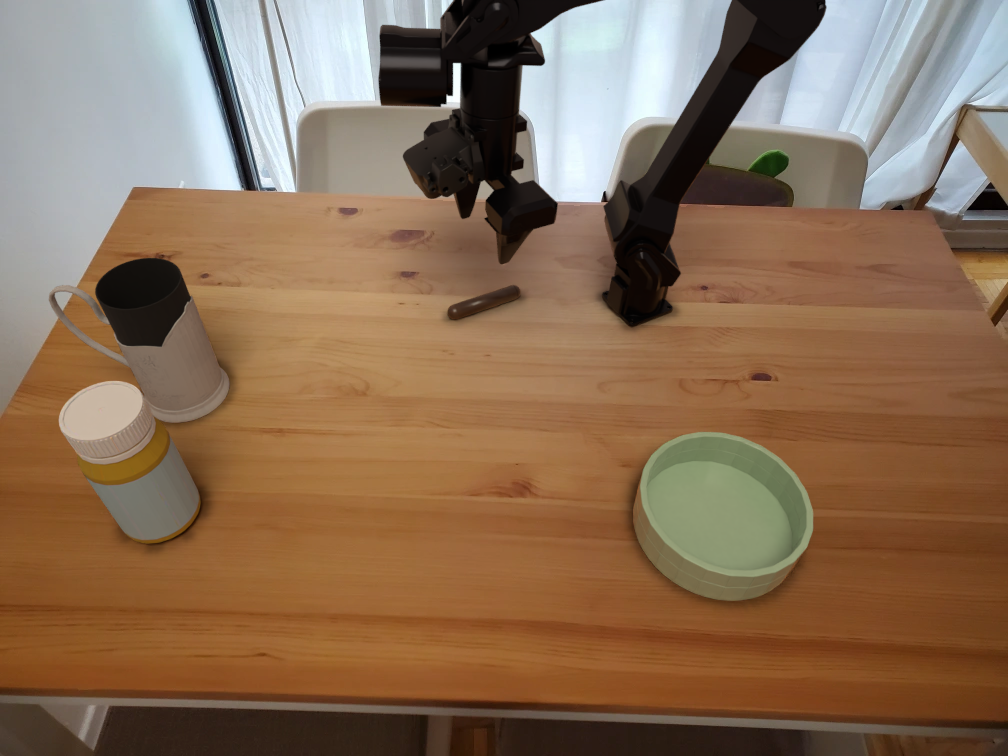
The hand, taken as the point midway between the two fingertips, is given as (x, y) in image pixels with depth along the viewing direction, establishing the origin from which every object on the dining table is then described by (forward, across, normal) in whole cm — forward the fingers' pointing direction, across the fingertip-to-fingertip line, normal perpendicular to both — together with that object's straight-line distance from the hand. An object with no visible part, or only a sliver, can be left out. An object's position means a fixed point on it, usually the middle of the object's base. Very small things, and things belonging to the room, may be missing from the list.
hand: (483, 239), depth 80 cm
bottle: (+11, +12, -40) cm, 43 cm away
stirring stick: (+10, 0, 0) cm, 10 cm away
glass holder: (+12, -4, -36) cm, 38 cm away
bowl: (+10, +37, +5) cm, 39 cm away
